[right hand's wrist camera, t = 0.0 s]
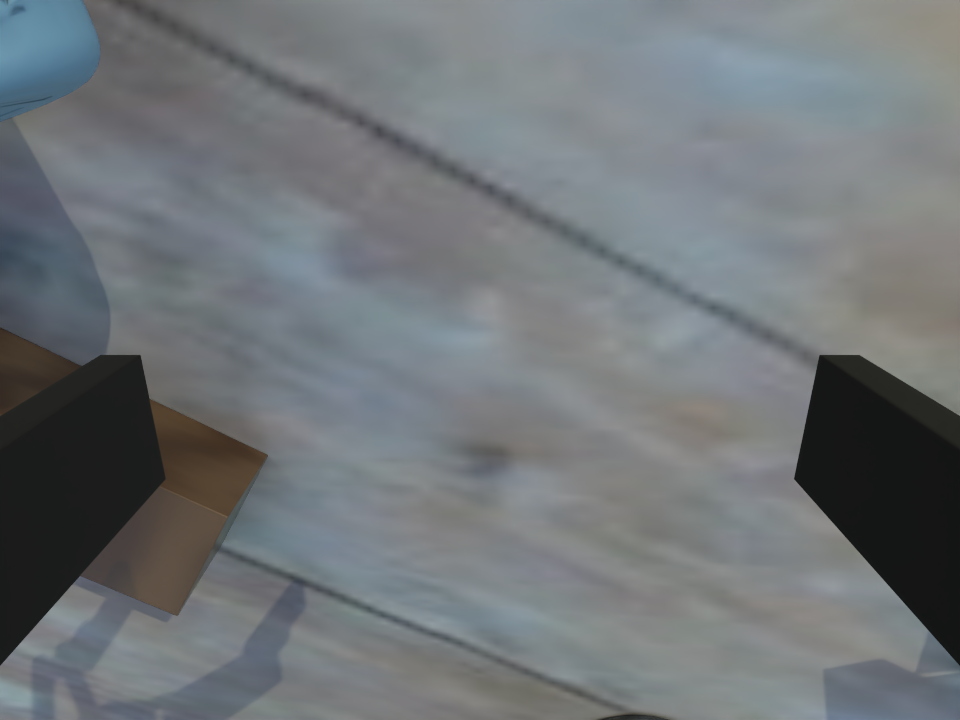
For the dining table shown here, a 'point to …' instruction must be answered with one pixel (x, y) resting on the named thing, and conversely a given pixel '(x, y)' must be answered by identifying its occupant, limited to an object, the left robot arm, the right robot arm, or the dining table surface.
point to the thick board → (172, 507)
